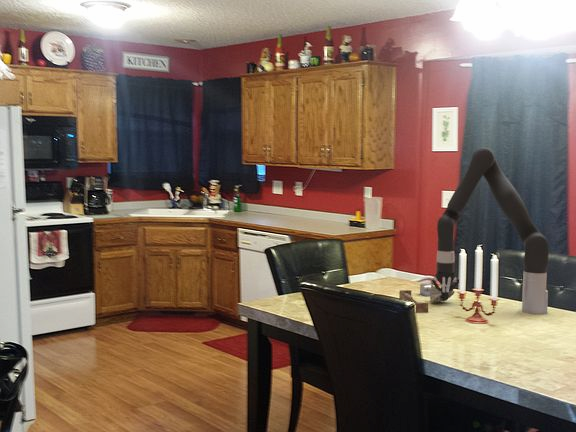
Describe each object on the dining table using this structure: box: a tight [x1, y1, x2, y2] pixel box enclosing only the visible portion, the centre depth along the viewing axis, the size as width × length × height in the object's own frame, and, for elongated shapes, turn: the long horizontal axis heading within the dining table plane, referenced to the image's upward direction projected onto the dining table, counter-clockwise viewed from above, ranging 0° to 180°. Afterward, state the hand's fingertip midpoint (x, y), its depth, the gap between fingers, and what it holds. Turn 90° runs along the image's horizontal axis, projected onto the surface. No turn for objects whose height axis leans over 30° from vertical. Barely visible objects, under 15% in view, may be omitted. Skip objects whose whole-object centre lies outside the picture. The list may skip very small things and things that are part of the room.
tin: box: [419, 283, 434, 298], centre depth 313 cm, size 6×6×5 cm
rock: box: [428, 285, 455, 303], centre depth 297 cm, size 11×6×10 cm
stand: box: [398, 289, 429, 314], centre depth 291 cm, size 5×27×5 cm, turn 5°
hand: (444, 300), depth 292 cm, fingers closed, pressing on rock
